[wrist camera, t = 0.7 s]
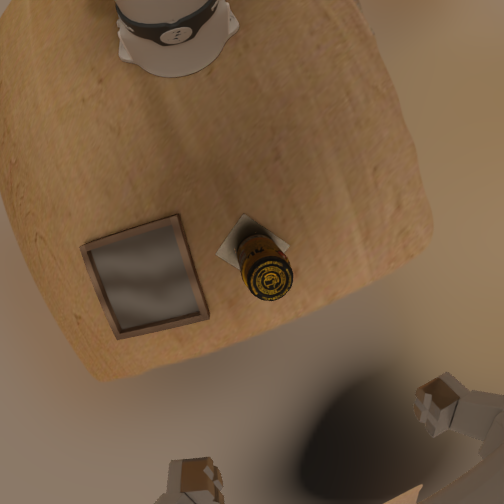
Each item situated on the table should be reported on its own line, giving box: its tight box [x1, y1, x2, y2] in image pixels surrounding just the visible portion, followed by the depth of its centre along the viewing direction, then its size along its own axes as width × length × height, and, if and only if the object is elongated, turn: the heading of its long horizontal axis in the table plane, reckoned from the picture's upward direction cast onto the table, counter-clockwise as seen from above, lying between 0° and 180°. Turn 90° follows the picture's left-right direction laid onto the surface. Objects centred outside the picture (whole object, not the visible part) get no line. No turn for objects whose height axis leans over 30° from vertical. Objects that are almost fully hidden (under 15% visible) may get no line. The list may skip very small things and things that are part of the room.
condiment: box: [215, 214, 293, 301], centre depth 38 cm, size 7×8×12 cm
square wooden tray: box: [79, 214, 210, 340], centre depth 41 cm, size 16×16×2 cm
